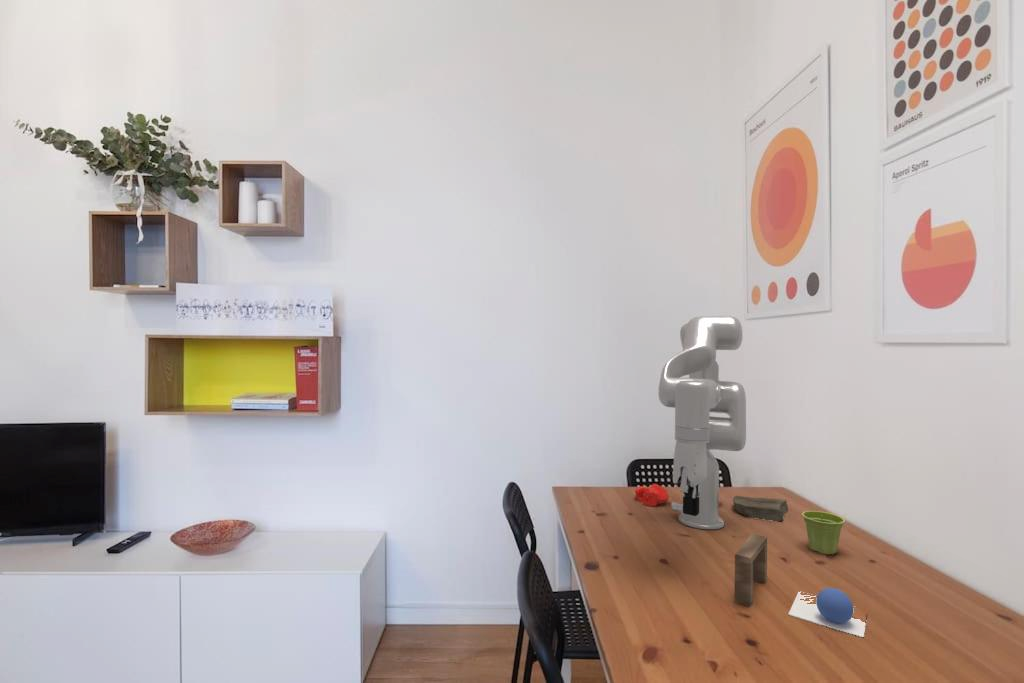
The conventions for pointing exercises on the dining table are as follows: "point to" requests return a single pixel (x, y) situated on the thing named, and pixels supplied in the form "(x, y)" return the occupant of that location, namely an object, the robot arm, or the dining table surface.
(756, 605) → the dining table surface
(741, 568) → the bridge
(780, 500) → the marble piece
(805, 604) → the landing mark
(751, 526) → the dining table surface
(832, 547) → the plant pot
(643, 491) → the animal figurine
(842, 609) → the ball
